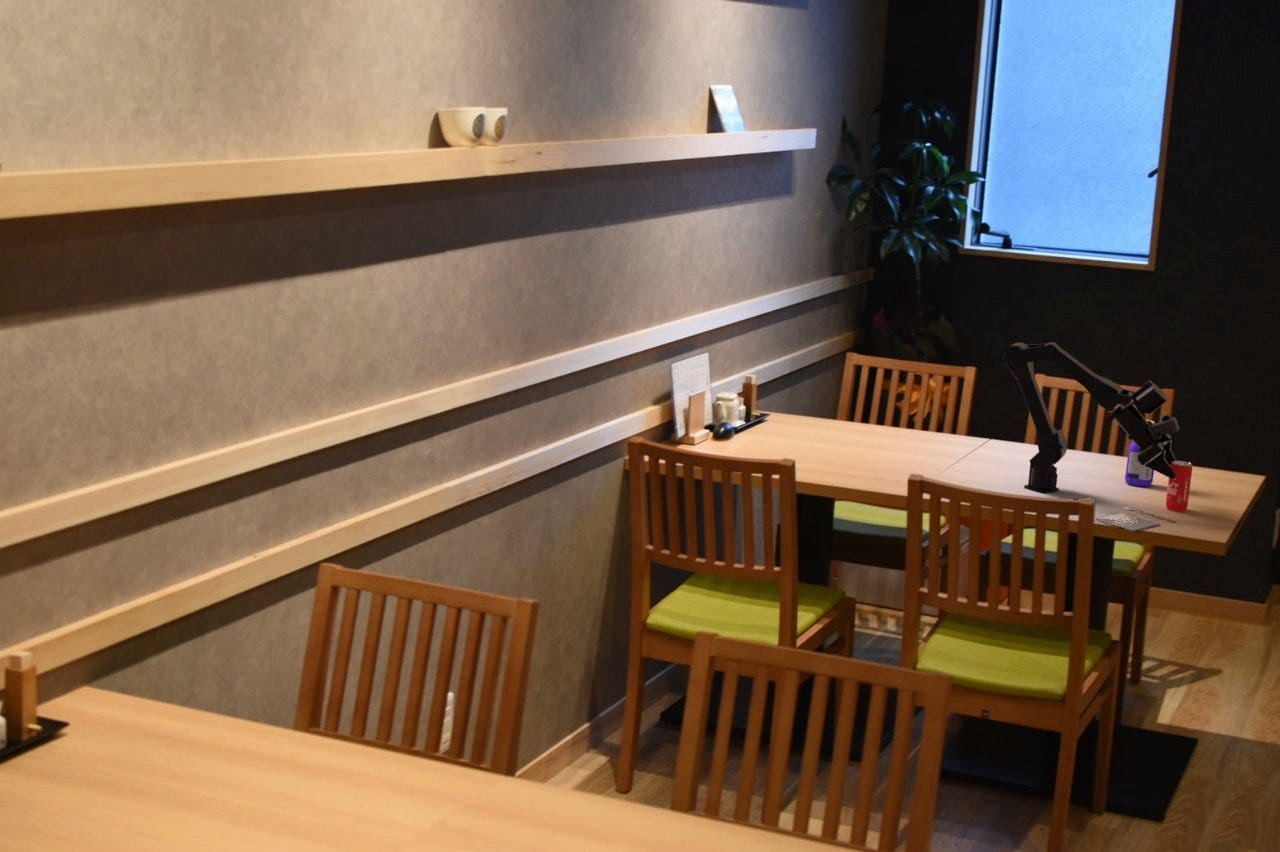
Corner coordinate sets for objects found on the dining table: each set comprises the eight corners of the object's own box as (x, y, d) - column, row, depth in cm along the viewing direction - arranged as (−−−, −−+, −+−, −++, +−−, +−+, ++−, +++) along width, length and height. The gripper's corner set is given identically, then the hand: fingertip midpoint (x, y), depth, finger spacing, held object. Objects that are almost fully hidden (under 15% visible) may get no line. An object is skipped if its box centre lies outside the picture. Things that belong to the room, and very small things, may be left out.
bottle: (1152, 483, 408) (1160, 420, 404) (1152, 488, 402) (1160, 424, 398) (1124, 480, 410) (1131, 417, 406) (1123, 485, 405) (1131, 421, 401)
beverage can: (1188, 513, 380) (1194, 466, 377) (1166, 511, 381) (1172, 464, 378) (1185, 507, 385) (1191, 461, 382) (1163, 505, 386) (1169, 459, 383)
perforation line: (1124, 508, 381) (1124, 507, 381) (1127, 508, 382) (1127, 506, 382) (1173, 522, 371) (1174, 521, 371) (1176, 522, 371) (1176, 520, 371)
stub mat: (1093, 520, 370) (1093, 518, 370) (1121, 514, 376) (1121, 512, 376) (1132, 531, 361) (1132, 530, 361) (1159, 525, 368) (1160, 523, 368)
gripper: (1156, 412, 372) (1199, 462, 369) (1166, 399, 388) (1207, 447, 386) (1119, 439, 377) (1161, 489, 374) (1130, 426, 393) (1171, 473, 391)
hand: (1176, 474), depth 381 cm, fingers open, 9 cm apart
